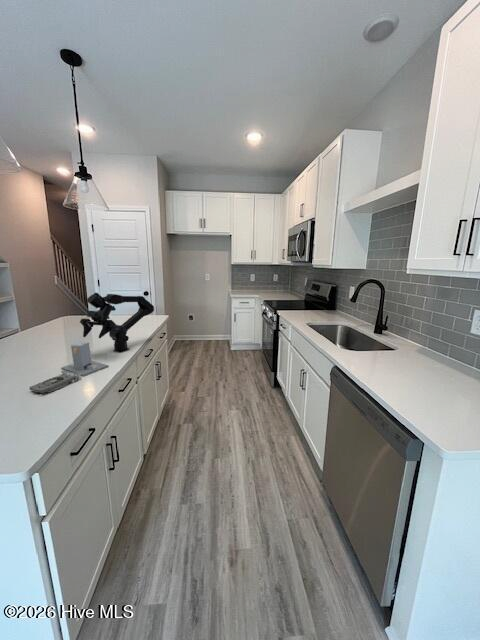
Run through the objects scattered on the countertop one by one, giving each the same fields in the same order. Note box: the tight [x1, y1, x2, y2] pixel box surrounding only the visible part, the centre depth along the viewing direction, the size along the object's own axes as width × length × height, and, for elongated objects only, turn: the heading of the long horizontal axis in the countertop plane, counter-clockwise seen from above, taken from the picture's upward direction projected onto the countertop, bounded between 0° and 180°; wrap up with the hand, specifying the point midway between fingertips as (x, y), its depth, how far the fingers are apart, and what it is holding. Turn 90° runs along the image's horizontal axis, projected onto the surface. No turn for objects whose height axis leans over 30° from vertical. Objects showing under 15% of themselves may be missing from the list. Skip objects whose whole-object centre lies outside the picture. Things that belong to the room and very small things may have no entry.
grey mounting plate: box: [60, 359, 109, 377], centre depth 131 cm, size 13×18×2 cm
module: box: [70, 341, 92, 371], centre depth 127 cm, size 6×5×12 cm
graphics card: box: [29, 370, 83, 394], centre depth 113 cm, size 17×4×12 cm
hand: (91, 337), depth 136 cm, fingers open, 9 cm apart
